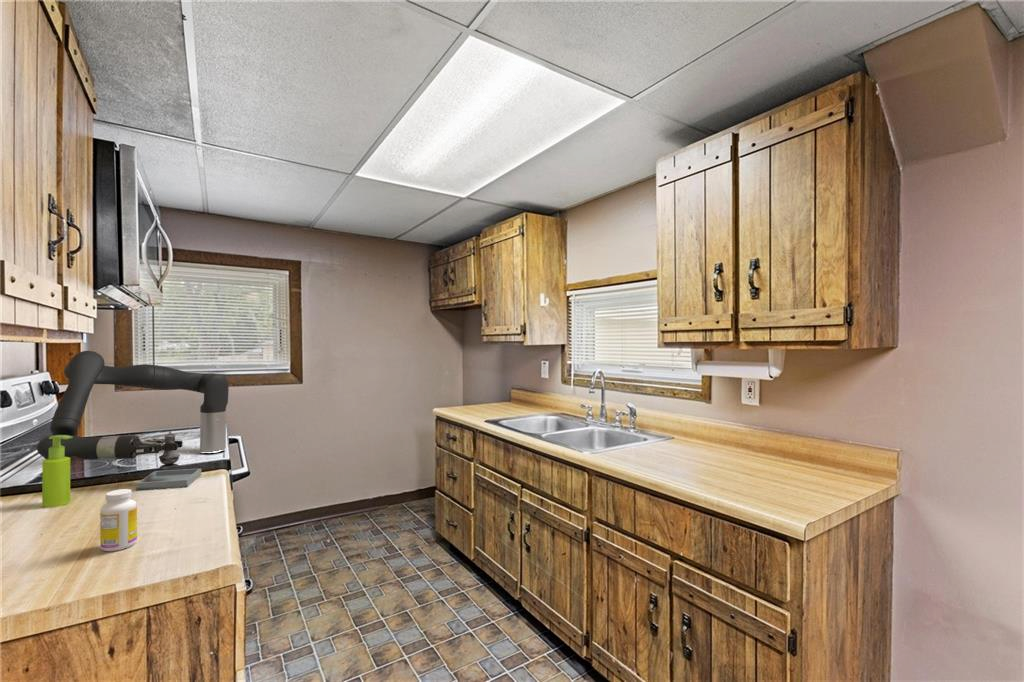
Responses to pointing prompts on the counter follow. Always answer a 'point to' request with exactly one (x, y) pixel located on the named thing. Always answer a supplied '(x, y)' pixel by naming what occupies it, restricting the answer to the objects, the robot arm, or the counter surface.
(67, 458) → the soap dispenser
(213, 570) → the counter surface
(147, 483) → the tray
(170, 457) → the dark gray chess piece
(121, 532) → the supplement bottle
